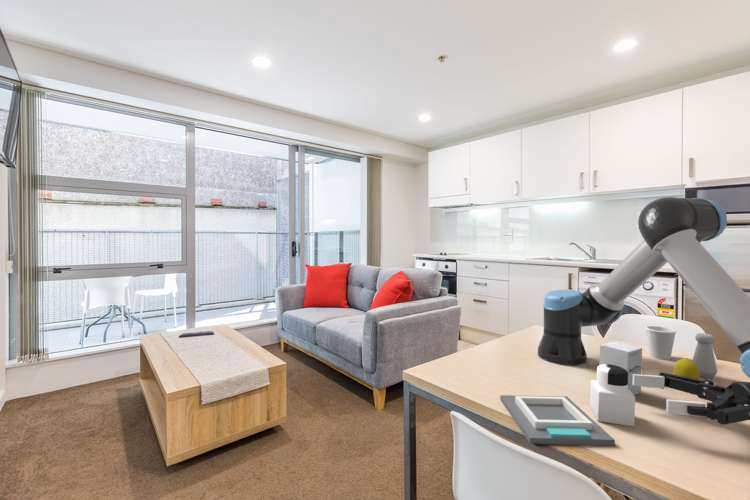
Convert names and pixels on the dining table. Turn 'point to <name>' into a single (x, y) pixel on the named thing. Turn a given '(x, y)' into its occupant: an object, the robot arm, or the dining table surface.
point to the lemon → (686, 369)
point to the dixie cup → (660, 341)
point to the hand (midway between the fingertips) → (648, 391)
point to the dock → (554, 421)
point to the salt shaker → (705, 356)
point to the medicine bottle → (612, 396)
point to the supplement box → (623, 360)
